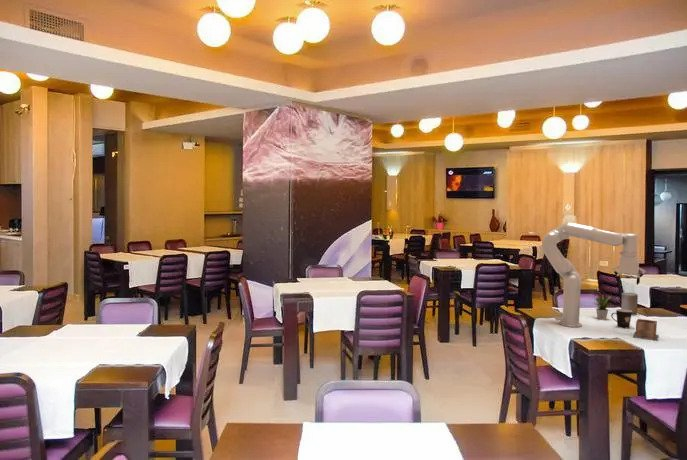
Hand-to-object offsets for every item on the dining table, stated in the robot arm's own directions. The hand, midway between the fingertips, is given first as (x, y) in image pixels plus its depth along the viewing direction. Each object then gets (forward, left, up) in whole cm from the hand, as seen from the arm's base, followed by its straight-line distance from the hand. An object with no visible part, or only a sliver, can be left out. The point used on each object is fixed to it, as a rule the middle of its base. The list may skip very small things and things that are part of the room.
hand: (628, 283), depth 323 cm
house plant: (-18, +27, -28) cm, 43 cm away
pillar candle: (-4, +56, -28) cm, 63 cm away
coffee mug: (-4, +11, -28) cm, 31 cm away
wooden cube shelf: (+11, -8, -28) cm, 31 cm away
